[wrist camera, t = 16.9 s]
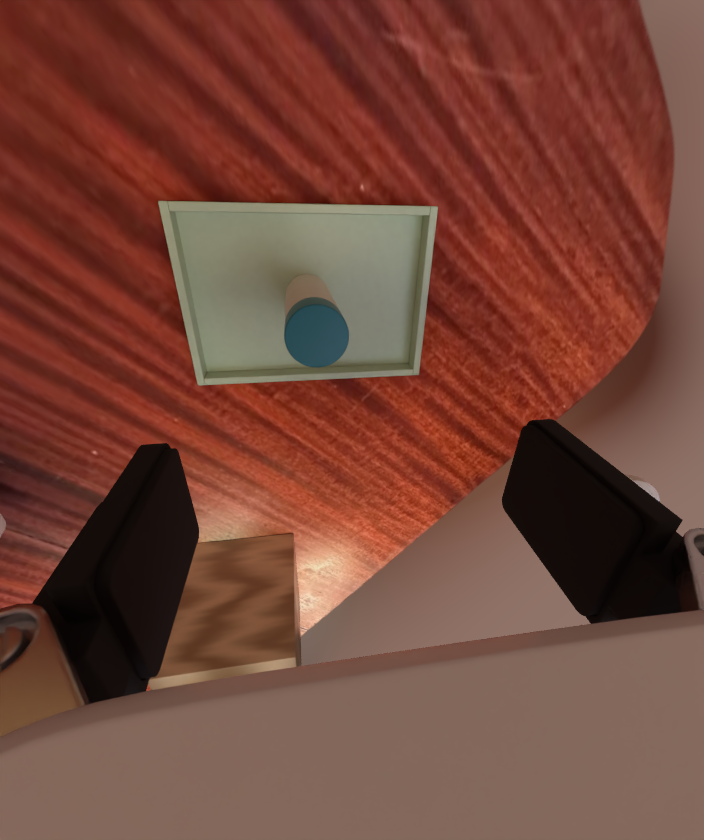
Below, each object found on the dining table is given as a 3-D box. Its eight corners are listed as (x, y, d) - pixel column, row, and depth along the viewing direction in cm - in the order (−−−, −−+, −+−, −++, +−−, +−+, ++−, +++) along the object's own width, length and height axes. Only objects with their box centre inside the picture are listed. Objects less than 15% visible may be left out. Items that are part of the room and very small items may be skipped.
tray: (429, 206, 28) (438, 206, 26) (412, 367, 34) (419, 375, 33) (166, 201, 25) (157, 200, 24) (202, 376, 32) (197, 385, 30)
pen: (329, 273, 29) (349, 303, 19) (330, 319, 31) (349, 367, 21) (283, 274, 28) (281, 305, 19) (287, 320, 30) (286, 369, 21)
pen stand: (293, 533, 43) (296, 729, 27) (299, 596, 49) (304, 787, 33) (187, 544, 41) (121, 760, 25) (206, 608, 47) (163, 816, 31)
